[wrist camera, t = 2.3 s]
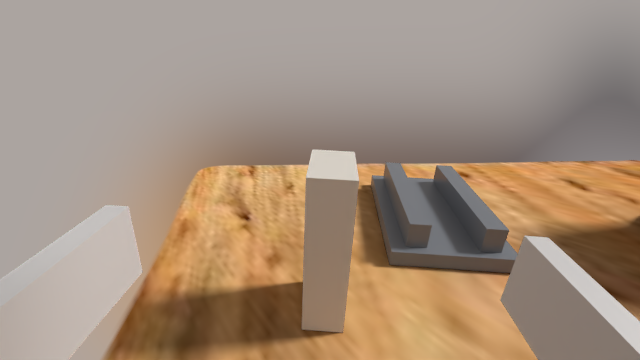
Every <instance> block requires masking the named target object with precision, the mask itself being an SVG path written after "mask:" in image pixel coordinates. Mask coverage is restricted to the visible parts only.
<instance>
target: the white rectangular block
mask: <svg viewBox="0 0 640 360" xmlns="http://www.w3.org/2000/svg"><path fill="white" fill-rule="evenodd" d="M358 186H359V177H358V171H357V164H356V158H355V152H346V151H329V150H312V154H311V158H310V162H309V167H308V171H307V175H306V195H305V230H304V264H303V299H302V330H314V331H328V332H341V333H343V329H344V320H345V310H346V301H347V291H348V281H349V272H350V262H351V253H352V243H353V234H354V224H355V215H356V205H357V196H358Z"/></svg>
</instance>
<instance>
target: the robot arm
mask: <svg viewBox="0 0 640 360" xmlns="http://www.w3.org/2000/svg"><path fill="white" fill-rule="evenodd" d="M141 273H142V267H141V262H140V258H139V253H138V248H137V244H136V239H135V234H134V229H133V225H132V220H131V215H130V211H129V207H125V206H113V205H106V206H104V207H103V208H101V209H100V210H99V211H97V212H96V213H94V214H93V215H91V216H90V217H88V218H87V219H86V220H84V221H83V222H81V223H80V224H78V225H77V226H76V227H74V228H73V229H71V230H70V231H68V232H67V233H66V234H65V235H63V236H61V237H60V238H58V239H57V240H56V241H54V242H53V243H52V244H50V245H48V246H47V247H46V248H44V249H43V250H41V251H40V252H38V253H37V254H36V255H34V256H33V257H31V258H30V259H28V260H27V261H26V262H24V263H23V264H21V265H20V266H19V267H17V268H16V269H14V270H13V271H12V272H10V273H9V274H7V275H6V276H4V277H3V278H1V279H0V360H68V359H69V358H70V357H71V356H72V355H73V354H74V352H75V351H76V350H77V349H78V348H79V346H80V345H81V344H82V343H83V342H84V341H85V339H86V338H87V337H88V336H89V335H90V333H91V332H92V331H93V330H94V329H95V328H96V326H97V325H98V324H99V323H100V322H101V321H102V319H103V318H104V317H105V316H106V315H107V314H108V312H109V311H110V310H111V309H112V308H113V306H114V305H115V304H116V303H117V302H118V301H119V299H120V298H121V297H122V296H123V295H124V293H125V292H126V291H127V290H128V289H129V288H130V286H131V285H132V284H133V283H134V282H135V280H136V279H137V278H138V277H139V276H140V274H141ZM501 302H502V304H503V305H504V307H505V308H506V310H507V311H508V313H509V315H510V316H511V318H512V319H513V321H514V322H515V324H516V326H517V327H518V329H519V330H520V332H521V333H522V335H523V337H524V338H525V340H526V341H527V343H528V344H529V346H530V348H531V349H532V351H533V352H534V354H535V355H536V357H537V359H538V360H640V321H639V320H637V319H636V318H635V317H634V316H633V315H632V314H631V313H630V312H629V311H628V310H627V309H626V308H624V307H623V306H622V305H621V304H620V303H619V302H618V301H617V300H616V299H615V298H614V297H612V296H611V295H610V294H609V293H608V292H607V291H606V290H605V289H604V288H603V287H602V286H601V285H599V284H598V283H597V282H596V281H595V280H594V279H593V278H592V277H591V276H590V275H589V274H587V273H586V272H585V271H584V270H583V269H582V268H581V267H580V266H579V265H578V264H577V263H575V262H574V261H573V260H572V259H571V258H570V257H569V256H568V255H567V254H566V253H565V252H564V251H562V250H561V249H560V248H559V247H558V246H557V245H556V244H555V243H554V242H553V241H552V240H550V239H549V238H548V237H534V236H524V238H523V241H522V244H521V246H520V249H519V252H518V254H517V257H516V260H515V262H514V265H513V268H512V270H511V273H510V276H509V278H508V281H507V284H506V286H505V289H504V292H503V294H502V297H501Z"/></svg>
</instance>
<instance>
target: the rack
mask: <svg viewBox="0 0 640 360" xmlns="http://www.w3.org/2000/svg"><path fill="white" fill-rule="evenodd" d="M371 187H372V191H373V196H374V200H375V204H376V209H377V213H378V217H379V222H380V226H381V230H382V234H383V239H384V243H385V247H386V252H387V256H388V260H389V264H390V265H401V266H415V267H430V268H445V269H459V270H474V271H489V272H503V273H511V270H512V268H513V265H514V262H515V260H516V257H517V253H516V251H515V250H514V249H513V248H512V247H511V245H510V244H509V243H508V242H507V241H506V238H507V235H508V232H509V230H508V229H507V227H506V226H505V225H504V224H503V223H502V222H501V221H500V220H499V219H498V217H497V216H496V215H495V214H494V213H493V212H492V211H491V210H490V209H489V207H488V206H487V205H486V204H485V203H484V202H483V201H482V200H481V199H480V198H479V196H478V195H477V194H476V193H475V192H474V191H473V190H472V189H471V188H470V186H469V185H468V184H467V183H466V182H465V181H464V180H463V179H462V178H461V177H460V175H459V174H458V173H457V172H456V171H455V170H454V169H453V168H452V167H451V166H438V165H437V166H436V171H435V175H434V179H423V178H407V176H406V174H405V172H404V170H403V168H402V166H401V164H400V163H388V162H386V164H385V171H384V176H373V175H372V180H371Z"/></svg>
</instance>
